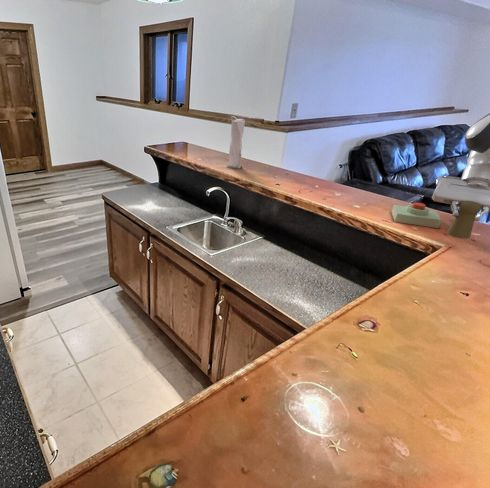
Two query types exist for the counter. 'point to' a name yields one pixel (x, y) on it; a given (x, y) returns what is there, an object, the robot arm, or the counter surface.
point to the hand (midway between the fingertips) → (465, 218)
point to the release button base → (416, 216)
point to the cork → (464, 220)
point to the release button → (418, 206)
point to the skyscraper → (236, 143)
